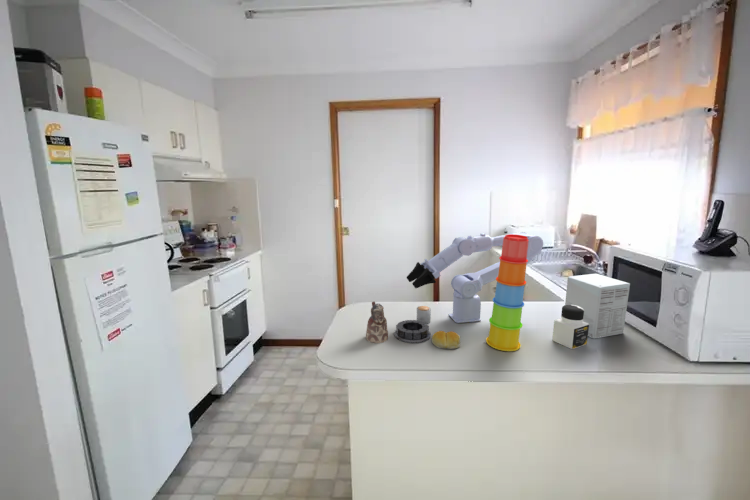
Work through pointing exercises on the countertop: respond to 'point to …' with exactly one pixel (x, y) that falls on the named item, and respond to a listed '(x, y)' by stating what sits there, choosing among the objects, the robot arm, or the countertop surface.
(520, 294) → the stacking cups
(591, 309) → the supplement box
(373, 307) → the figurine
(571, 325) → the medicine bottle
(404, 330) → the toothed ring bowl
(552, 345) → the countertop surface
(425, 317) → the cup
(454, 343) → the bread roll
